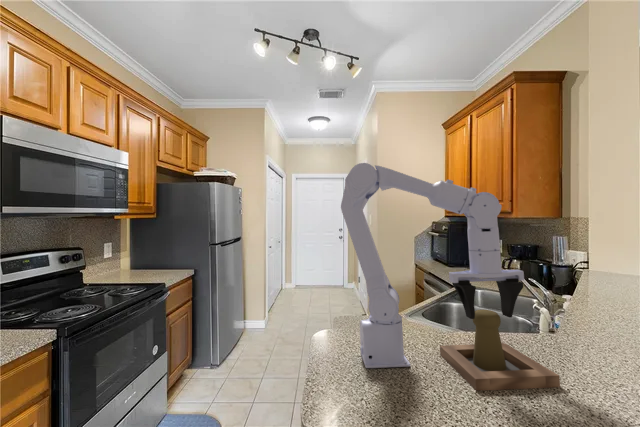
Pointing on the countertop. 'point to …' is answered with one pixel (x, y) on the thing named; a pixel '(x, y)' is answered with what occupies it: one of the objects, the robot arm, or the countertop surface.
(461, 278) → the robot arm
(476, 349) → the cork
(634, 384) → the countertop surface
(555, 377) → the holder
